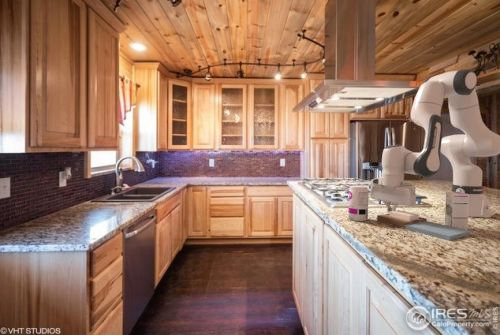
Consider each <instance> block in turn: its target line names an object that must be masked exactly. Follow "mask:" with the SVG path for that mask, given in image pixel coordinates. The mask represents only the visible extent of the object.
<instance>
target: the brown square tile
mask: <svg viewBox="0 0 500 335" xmlns="http://www.w3.org/2000/svg"><path fill="white" fill-rule="evenodd" d="M424 221H428V219H427V218H425V217H421V216H419V219H417V220H411V221H408V220H404V219H400V218H396V217H392V216H390V213H385V214H379V215H377V216H376V222H379V223H383V224H385V225H386V224H387V225H390V226H394V227H397V228H401V229H405V225H408V224H413V223H418V222H424Z"/></svg>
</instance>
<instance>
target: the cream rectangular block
mask: <svg viewBox="0 0 500 335" xmlns="http://www.w3.org/2000/svg"><path fill="white" fill-rule="evenodd" d="M389 214H390V216H392V217H396V218H400V219H404V220H408V221H411V220H417V219H419V217H420V214H418V213H414V212H413V213H412V212H409V211H404V210H400V209H398V210H396V211H390V212H389Z"/></svg>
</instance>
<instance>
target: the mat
mask: <svg viewBox="0 0 500 335" xmlns="http://www.w3.org/2000/svg"><path fill="white" fill-rule="evenodd" d="M404 229H406V230H409V231H413V232H417V233H420V234H424V235H428V236H432V237H434V238H438V239H441V240H442V239H443V240H446V241H449V240H450V241H453V239H454V240H457V239H460V238H466V237H468V236H471V235H472V230H465V229H460V228H456V227H451V226H447V225H445V224H443V223H442V224H441V223H437V222H433V221H429V220H427V221H424V222H418V223H413V224H408V225H405V228H404Z"/></svg>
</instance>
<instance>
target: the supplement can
mask: <svg viewBox="0 0 500 335" xmlns="http://www.w3.org/2000/svg"><path fill="white" fill-rule="evenodd" d="M369 193H370V190H369V188H368V186H366V185H360V184H359V185H357V184H356V185H350V187H349V188H348V215H347V217H348V218H349V219H350V220H351V221H354V222H366V221H367V220H368V219H369V195H370V194H369Z"/></svg>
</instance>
